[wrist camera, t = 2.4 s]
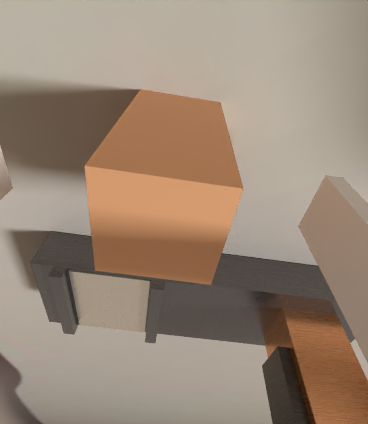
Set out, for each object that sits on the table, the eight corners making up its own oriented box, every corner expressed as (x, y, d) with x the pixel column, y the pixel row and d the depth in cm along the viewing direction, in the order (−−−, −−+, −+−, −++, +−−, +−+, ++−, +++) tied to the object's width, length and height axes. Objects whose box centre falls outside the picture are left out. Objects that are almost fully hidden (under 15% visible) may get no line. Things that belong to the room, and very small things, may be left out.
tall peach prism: (220, 102, 13) (243, 188, 7) (202, 184, 16) (206, 297, 10) (140, 89, 13) (84, 165, 6) (137, 174, 16) (96, 284, 9)
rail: (51, 231, 19) (-76, 422, 10) (366, 272, 20) (497, 472, 11) (64, 289, 23) (-17, 458, 14) (324, 320, 24) (395, 491, 16)
